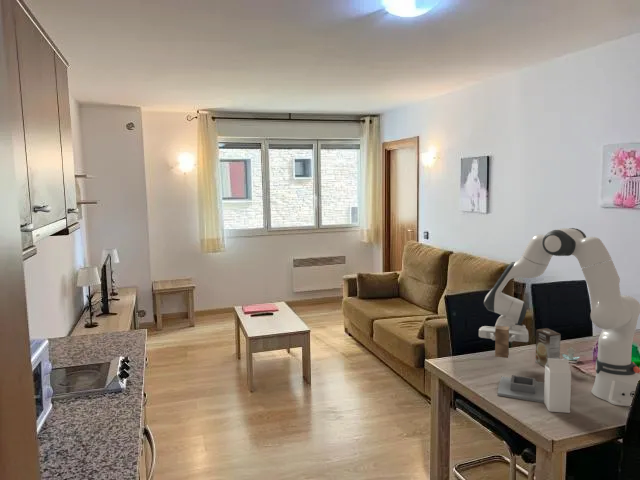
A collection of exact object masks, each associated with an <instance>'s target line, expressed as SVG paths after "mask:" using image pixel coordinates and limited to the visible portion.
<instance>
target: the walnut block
mask: <svg viewBox="0 0 640 480" xmlns="http://www.w3.org/2000/svg"><path fill="white" fill-rule="evenodd" d="M508 337H509V327H507V326H496V328H495V340H494V341H495V342H494V344H495V345H494V351H495V352H494V356H495V357H498V358H504V359H505V358H506V359H509V356H510V355H509V352H510V349H509V348H510V342H508Z"/></svg>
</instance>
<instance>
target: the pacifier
mask: <svg viewBox="0 0 640 480" xmlns="http://www.w3.org/2000/svg"><path fill="white" fill-rule="evenodd" d="M567 353H568V354H564V353H562V357H563V358H562V359H569V364H570V363H571V364H572V363H573V364H577V363H578V360H579V359H580V356H575V357H574V354H575V349H574V348H573V347H569V348H567Z"/></svg>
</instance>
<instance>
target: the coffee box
mask: <svg viewBox="0 0 640 480" xmlns="http://www.w3.org/2000/svg"><path fill="white" fill-rule="evenodd" d="M535 333H536V334H535V358H534V359H535V360H534V361H535V363H536V364H538V365H540V366H542V367H543V368H545V365H546V363H547V361H548V358H549V359H561V340H562V339H561V338H562V337H561V335H562V334H561V333H559V332H557V331H555V330H553V329H550V328H548V327H545V328H539V329H536V331H535Z"/></svg>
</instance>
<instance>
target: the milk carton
mask: <svg viewBox="0 0 640 480" xmlns="http://www.w3.org/2000/svg"><path fill="white" fill-rule="evenodd" d="M544 382H545V384H544V405H545V407H546V408H547V410H548V412H552V413H565V414H566V413H568V414H569V413H571V393H572V392H571V391H572V390H571V388H572V371H571V366H570V362H569V359H563V358H560V359H549V358H548V361H547V363H546V365H545V367H544Z"/></svg>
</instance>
